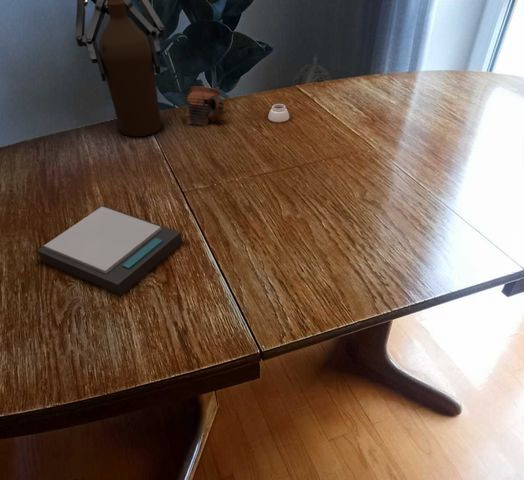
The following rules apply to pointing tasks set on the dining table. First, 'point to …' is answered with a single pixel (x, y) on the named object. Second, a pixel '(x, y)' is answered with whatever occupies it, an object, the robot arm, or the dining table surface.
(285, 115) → the lidless jar
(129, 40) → the olive oil
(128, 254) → the kitchen scale
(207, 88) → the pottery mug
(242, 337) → the dining table surface
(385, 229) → the dining table surface
